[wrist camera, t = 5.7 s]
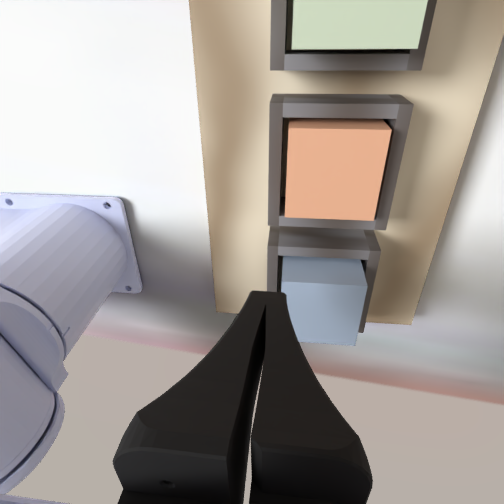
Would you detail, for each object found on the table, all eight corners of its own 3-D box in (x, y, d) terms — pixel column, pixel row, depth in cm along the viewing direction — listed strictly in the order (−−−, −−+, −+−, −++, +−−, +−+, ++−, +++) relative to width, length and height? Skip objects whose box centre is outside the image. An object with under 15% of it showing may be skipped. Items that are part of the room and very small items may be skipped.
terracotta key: (286, 193, 21) (284, 217, 18) (289, 113, 18) (288, 128, 16) (364, 195, 20) (373, 220, 18) (378, 114, 18) (391, 129, 15)
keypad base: (219, 299, 28) (209, 336, 24) (184, -147, 15) (152, -195, 11) (405, 310, 26) (421, 352, 23) (548, -169, 13) (632, -231, 10)
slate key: (281, 306, 24) (279, 340, 21) (283, 250, 21) (281, 281, 19) (348, 310, 23) (355, 345, 21) (359, 254, 21) (367, 286, 18)
